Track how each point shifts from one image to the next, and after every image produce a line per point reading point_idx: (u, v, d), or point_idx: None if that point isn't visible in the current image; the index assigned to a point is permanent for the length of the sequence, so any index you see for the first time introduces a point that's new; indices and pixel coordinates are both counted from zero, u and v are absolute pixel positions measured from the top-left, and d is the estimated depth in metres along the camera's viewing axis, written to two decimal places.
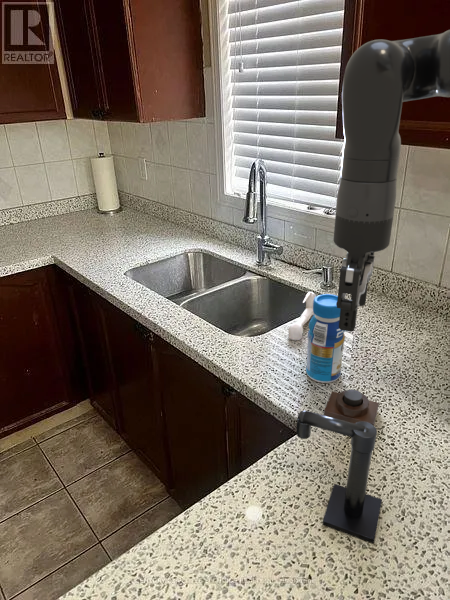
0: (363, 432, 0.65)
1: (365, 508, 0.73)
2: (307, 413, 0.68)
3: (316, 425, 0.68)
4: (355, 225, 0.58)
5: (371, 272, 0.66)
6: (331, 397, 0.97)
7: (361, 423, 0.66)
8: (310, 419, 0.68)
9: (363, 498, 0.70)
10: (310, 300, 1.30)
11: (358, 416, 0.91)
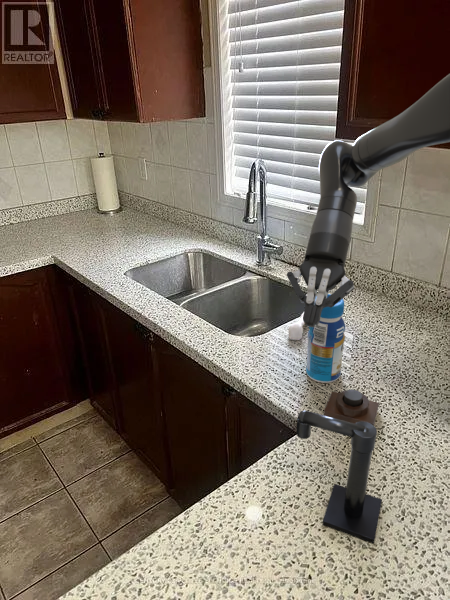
0: (363, 432, 0.65)
1: (365, 508, 0.73)
2: (307, 413, 0.68)
3: (316, 425, 0.68)
4: None
5: (320, 284, 0.81)
6: (331, 397, 0.97)
7: (361, 423, 0.66)
8: (310, 419, 0.68)
9: (363, 498, 0.70)
10: None
11: (358, 416, 0.91)
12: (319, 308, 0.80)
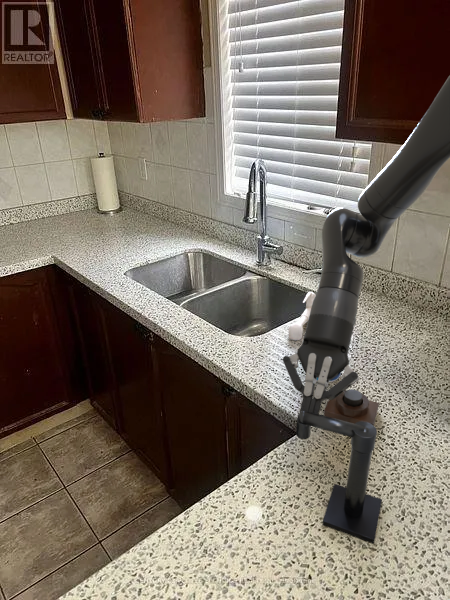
0: (363, 432, 0.65)
1: (365, 508, 0.73)
2: (307, 413, 0.68)
3: (316, 425, 0.68)
4: None
5: (319, 374, 0.71)
6: None
7: (361, 423, 0.66)
8: (310, 419, 0.68)
9: (363, 498, 0.70)
10: (310, 300, 1.30)
11: (358, 416, 0.91)
12: (318, 402, 0.71)
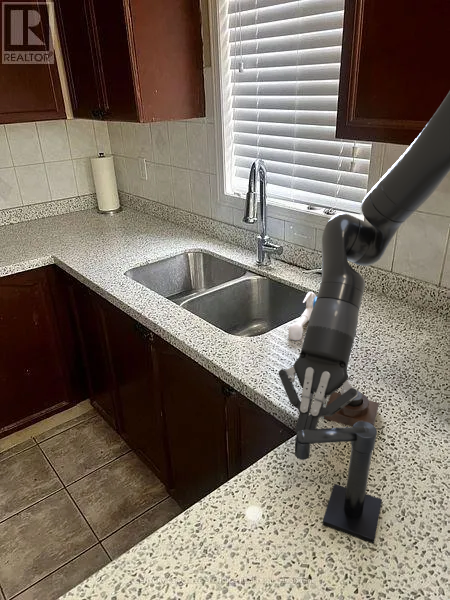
0: (366, 433, 0.65)
1: (365, 508, 0.73)
2: (306, 432, 0.65)
3: (319, 441, 0.65)
4: None
5: (317, 390, 0.68)
6: (331, 397, 0.97)
7: (358, 424, 0.66)
8: (312, 437, 0.64)
9: (363, 498, 0.70)
10: (310, 300, 1.30)
11: (358, 416, 0.91)
12: (315, 419, 0.67)
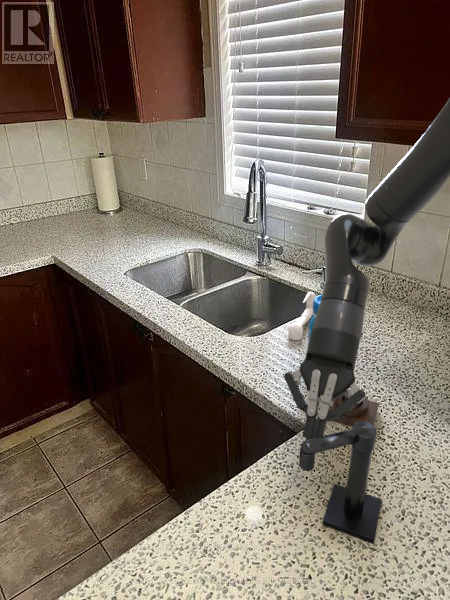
0: (367, 433, 0.65)
1: (365, 508, 0.73)
2: (311, 442, 0.63)
3: (324, 449, 0.63)
4: None
5: (324, 393, 0.66)
6: None
7: (356, 425, 0.66)
8: (318, 446, 0.63)
9: (363, 498, 0.70)
10: (310, 300, 1.30)
11: (358, 416, 0.91)
12: (323, 423, 0.66)
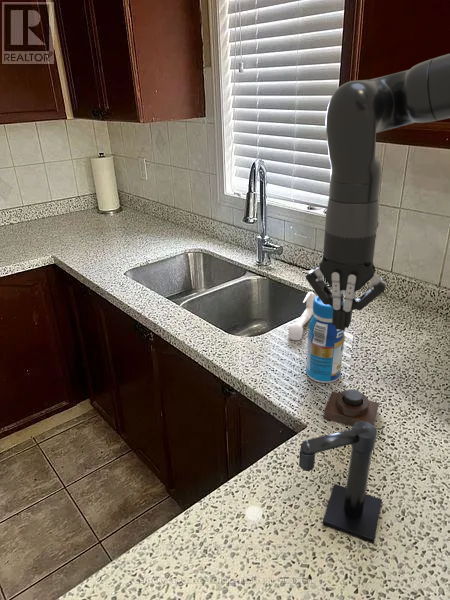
0: (367, 433, 0.65)
1: (365, 508, 0.73)
2: (311, 442, 0.63)
3: (324, 449, 0.63)
4: None
5: (346, 291, 0.70)
6: (331, 397, 0.97)
7: (356, 425, 0.66)
8: (318, 446, 0.63)
9: (363, 498, 0.70)
10: (310, 300, 1.30)
11: (358, 416, 0.91)
12: (349, 313, 0.72)
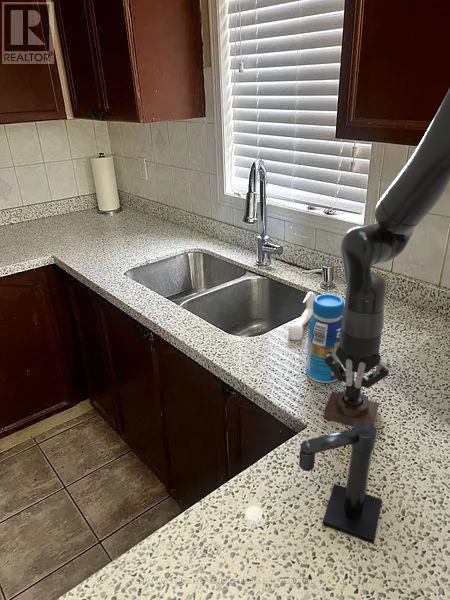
0: (367, 433, 0.65)
1: (365, 508, 0.73)
2: (311, 442, 0.63)
3: (324, 449, 0.63)
4: None
5: (357, 373, 0.88)
6: (331, 397, 0.97)
7: (356, 425, 0.66)
8: (318, 446, 0.63)
9: (363, 498, 0.70)
10: (310, 300, 1.30)
11: (358, 416, 0.91)
12: (359, 388, 0.90)
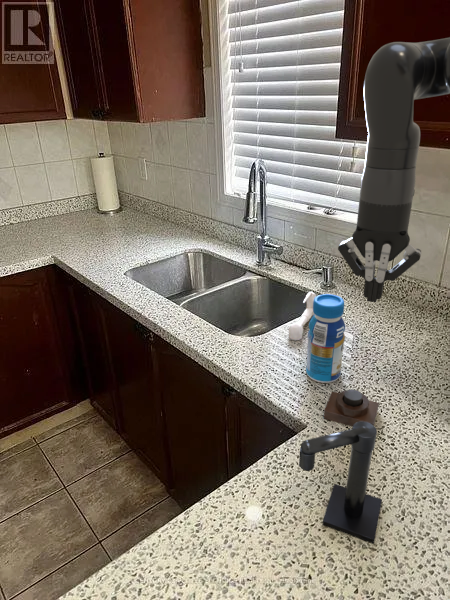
0: (367, 433, 0.65)
1: (365, 508, 0.73)
2: (311, 442, 0.63)
3: (324, 449, 0.63)
4: None
5: (379, 261, 0.69)
6: (331, 397, 0.97)
7: (356, 425, 0.66)
8: (318, 446, 0.63)
9: (363, 498, 0.70)
10: (310, 300, 1.30)
11: (358, 416, 0.91)
12: (381, 284, 0.72)
